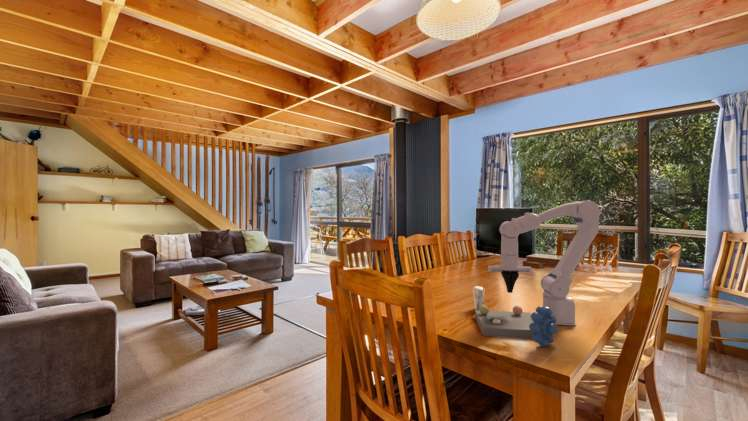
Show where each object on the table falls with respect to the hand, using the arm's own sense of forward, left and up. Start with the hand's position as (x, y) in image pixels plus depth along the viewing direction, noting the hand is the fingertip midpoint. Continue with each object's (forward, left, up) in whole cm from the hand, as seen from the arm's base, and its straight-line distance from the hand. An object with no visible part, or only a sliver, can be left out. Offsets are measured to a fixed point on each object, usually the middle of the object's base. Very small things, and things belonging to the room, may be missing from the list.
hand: (509, 292), depth 117 cm
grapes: (-4, +24, -10) cm, 26 cm away
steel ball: (+6, +10, -8) cm, 15 cm away
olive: (+10, +4, -6) cm, 12 cm away
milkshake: (+9, -10, -10) cm, 17 cm away
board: (+2, +8, -10) cm, 13 cm away
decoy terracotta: (-2, +3, -6) cm, 7 cm away
